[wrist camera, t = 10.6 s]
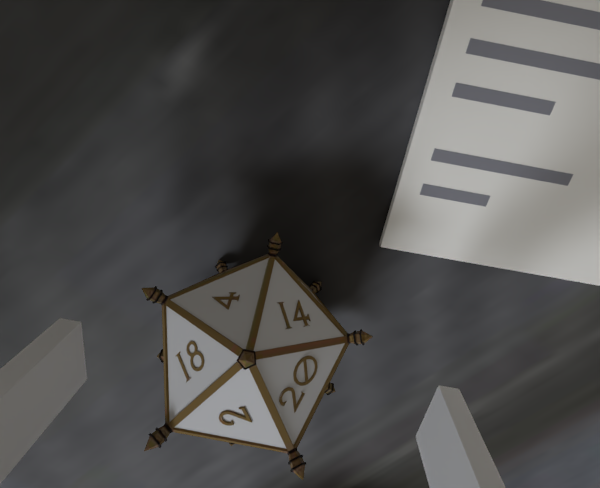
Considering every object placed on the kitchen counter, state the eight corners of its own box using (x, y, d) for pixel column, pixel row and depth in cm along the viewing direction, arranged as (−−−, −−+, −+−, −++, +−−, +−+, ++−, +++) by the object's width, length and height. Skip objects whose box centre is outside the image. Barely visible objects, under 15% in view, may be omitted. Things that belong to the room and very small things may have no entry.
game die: (265, 233, 20) (266, 154, 11) (363, 342, 20) (461, 362, 10) (140, 339, 19) (3, 359, 9) (243, 465, 18) (219, 639, 8)
